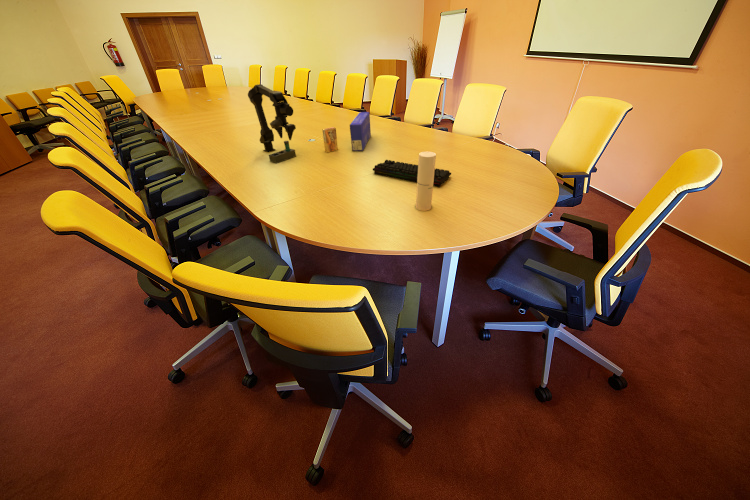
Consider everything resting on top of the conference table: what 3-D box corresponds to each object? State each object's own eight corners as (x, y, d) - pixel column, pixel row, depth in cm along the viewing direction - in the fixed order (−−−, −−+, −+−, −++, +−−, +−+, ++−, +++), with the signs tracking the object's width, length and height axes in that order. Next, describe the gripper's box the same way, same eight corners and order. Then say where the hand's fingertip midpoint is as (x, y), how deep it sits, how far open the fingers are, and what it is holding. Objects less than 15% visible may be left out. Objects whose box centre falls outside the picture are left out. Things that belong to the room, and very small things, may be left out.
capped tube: (286, 156, 201) (282, 141, 195) (289, 155, 203) (286, 140, 197) (289, 157, 199) (285, 142, 193) (292, 156, 201) (289, 141, 195)
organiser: (270, 161, 194) (268, 155, 192) (290, 154, 205) (288, 148, 202) (276, 163, 191) (274, 156, 188) (296, 156, 202) (294, 149, 199)
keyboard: (450, 177, 163) (452, 168, 160) (440, 188, 152) (441, 179, 149) (386, 165, 182) (386, 157, 179) (372, 174, 171) (372, 166, 168)
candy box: (335, 148, 213) (332, 126, 204) (338, 149, 210) (335, 127, 201) (324, 151, 208) (321, 128, 199) (328, 152, 206) (325, 130, 197)
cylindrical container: (414, 204, 139) (417, 152, 124) (429, 203, 139) (433, 151, 124) (417, 211, 133) (420, 157, 118) (432, 210, 133) (437, 156, 118)
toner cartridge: (361, 136, 237) (359, 111, 226) (371, 136, 236) (370, 111, 225) (351, 151, 206) (349, 124, 195) (363, 151, 205) (361, 124, 194)
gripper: (261, 115, 184) (267, 140, 194) (279, 118, 175) (285, 144, 184) (275, 111, 191) (280, 136, 201) (293, 114, 182) (298, 140, 191)
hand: (285, 139), depth 194 cm, fingers open, 9 cm apart
